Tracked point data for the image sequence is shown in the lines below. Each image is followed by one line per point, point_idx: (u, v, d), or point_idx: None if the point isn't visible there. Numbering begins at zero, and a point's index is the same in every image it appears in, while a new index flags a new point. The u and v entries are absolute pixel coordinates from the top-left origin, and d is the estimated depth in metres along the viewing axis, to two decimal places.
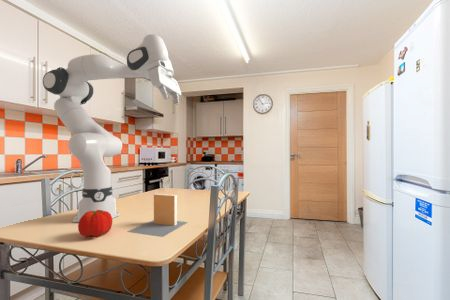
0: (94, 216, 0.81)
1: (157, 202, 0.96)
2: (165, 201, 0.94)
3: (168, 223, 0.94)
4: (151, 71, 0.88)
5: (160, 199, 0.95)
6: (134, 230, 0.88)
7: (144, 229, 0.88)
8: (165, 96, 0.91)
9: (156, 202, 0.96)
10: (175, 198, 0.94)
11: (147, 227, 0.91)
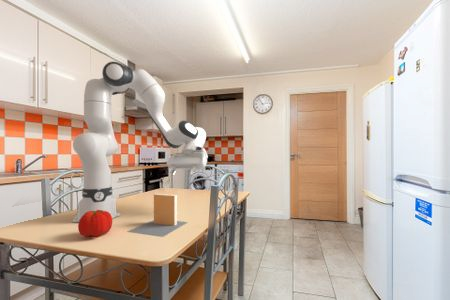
0: (94, 216, 0.81)
1: (157, 202, 0.96)
2: (165, 201, 0.94)
3: (168, 223, 0.94)
4: (205, 157, 1.10)
5: (160, 199, 0.95)
6: (134, 230, 0.88)
7: (144, 229, 0.88)
8: (191, 173, 1.06)
9: (156, 202, 0.96)
10: (175, 198, 0.94)
11: (147, 227, 0.91)
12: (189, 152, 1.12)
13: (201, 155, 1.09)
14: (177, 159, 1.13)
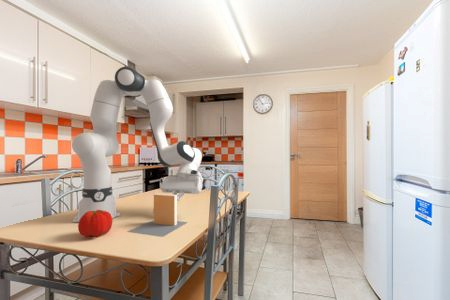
0: (94, 216, 0.81)
1: (157, 202, 0.96)
2: (165, 201, 0.94)
3: (168, 223, 0.94)
4: (200, 181, 1.05)
5: (160, 199, 0.95)
6: (134, 230, 0.88)
7: (144, 229, 0.88)
8: (178, 199, 1.02)
9: (156, 202, 0.96)
10: (175, 198, 0.94)
11: (147, 227, 0.91)
12: (184, 176, 1.07)
13: (196, 180, 1.04)
14: (171, 183, 1.07)
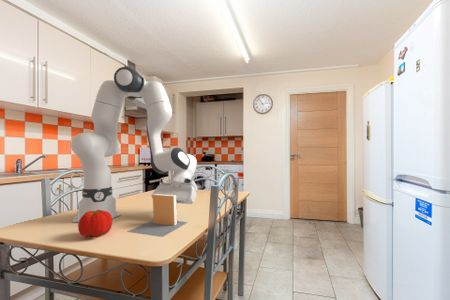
0: (94, 216, 0.81)
1: (156, 202, 0.95)
2: (164, 201, 0.94)
3: (168, 223, 0.94)
4: (194, 190, 1.00)
5: (159, 199, 0.95)
6: (134, 230, 0.88)
7: (144, 229, 0.88)
8: None
9: (155, 203, 0.95)
10: (174, 198, 0.93)
11: (147, 227, 0.91)
12: (177, 184, 1.02)
13: (190, 189, 0.99)
14: (163, 192, 1.02)
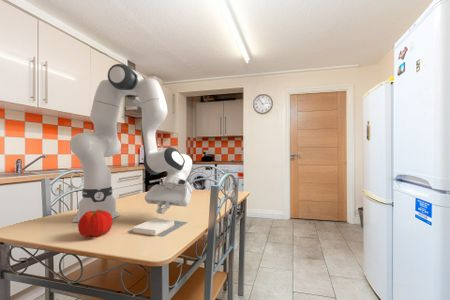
0: (94, 216, 0.81)
1: None
2: None
3: None
4: (189, 192, 0.95)
5: None
6: None
7: None
8: (163, 212, 0.92)
9: None
10: (157, 232, 0.82)
11: None
12: (171, 186, 0.97)
13: (184, 191, 0.94)
14: (157, 193, 0.98)
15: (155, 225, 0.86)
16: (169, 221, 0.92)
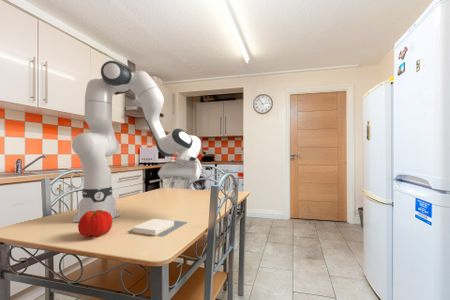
0: (94, 216, 0.81)
1: None
2: None
3: None
4: (199, 168, 1.04)
5: None
6: None
7: None
8: (176, 185, 1.01)
9: None
10: (157, 232, 0.82)
11: None
12: (182, 162, 1.06)
13: (195, 166, 1.03)
14: (169, 169, 1.06)
15: (155, 225, 0.86)
16: (169, 221, 0.92)
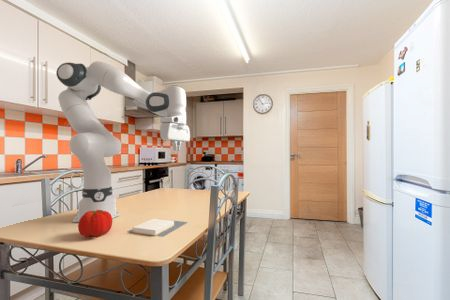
0: (94, 216, 0.81)
1: None
2: None
3: None
4: (163, 126, 0.98)
5: None
6: None
7: None
8: (175, 149, 1.05)
9: None
10: (157, 232, 0.82)
11: None
12: None
13: None
14: None
15: (155, 225, 0.86)
16: (169, 221, 0.92)
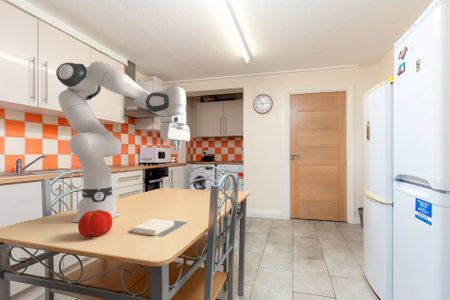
0: (94, 216, 0.81)
1: None
2: None
3: None
4: (163, 126, 0.97)
5: None
6: None
7: None
8: (175, 149, 1.05)
9: None
10: (157, 232, 0.82)
11: None
12: None
13: None
14: None
15: (155, 225, 0.86)
16: (169, 221, 0.92)
